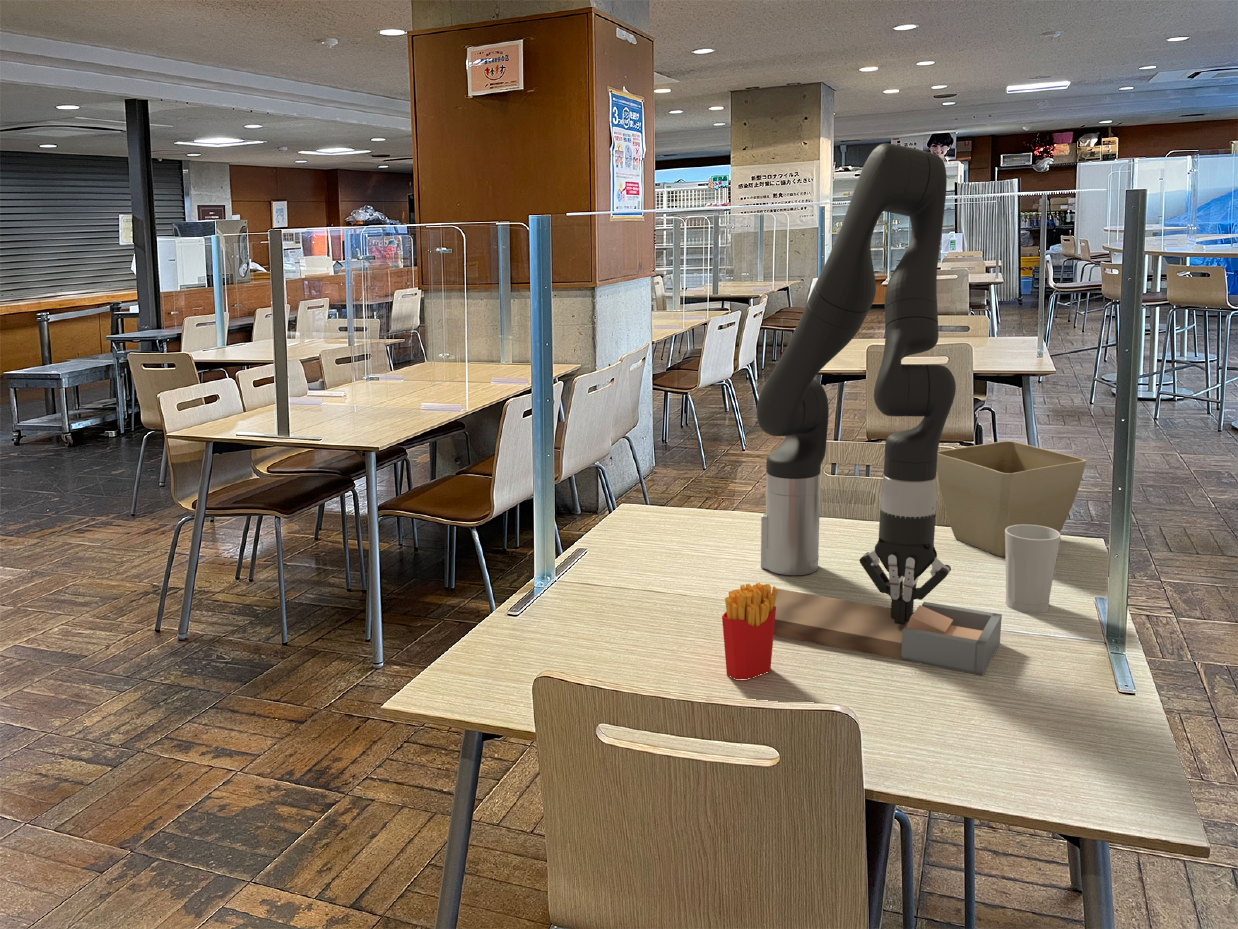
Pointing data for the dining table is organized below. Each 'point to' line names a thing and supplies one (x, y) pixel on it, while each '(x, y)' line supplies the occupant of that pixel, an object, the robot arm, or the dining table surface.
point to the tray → (954, 641)
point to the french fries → (749, 630)
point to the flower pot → (1005, 490)
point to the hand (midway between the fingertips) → (901, 622)
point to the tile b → (963, 632)
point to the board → (838, 623)
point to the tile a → (929, 621)
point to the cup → (1030, 566)
